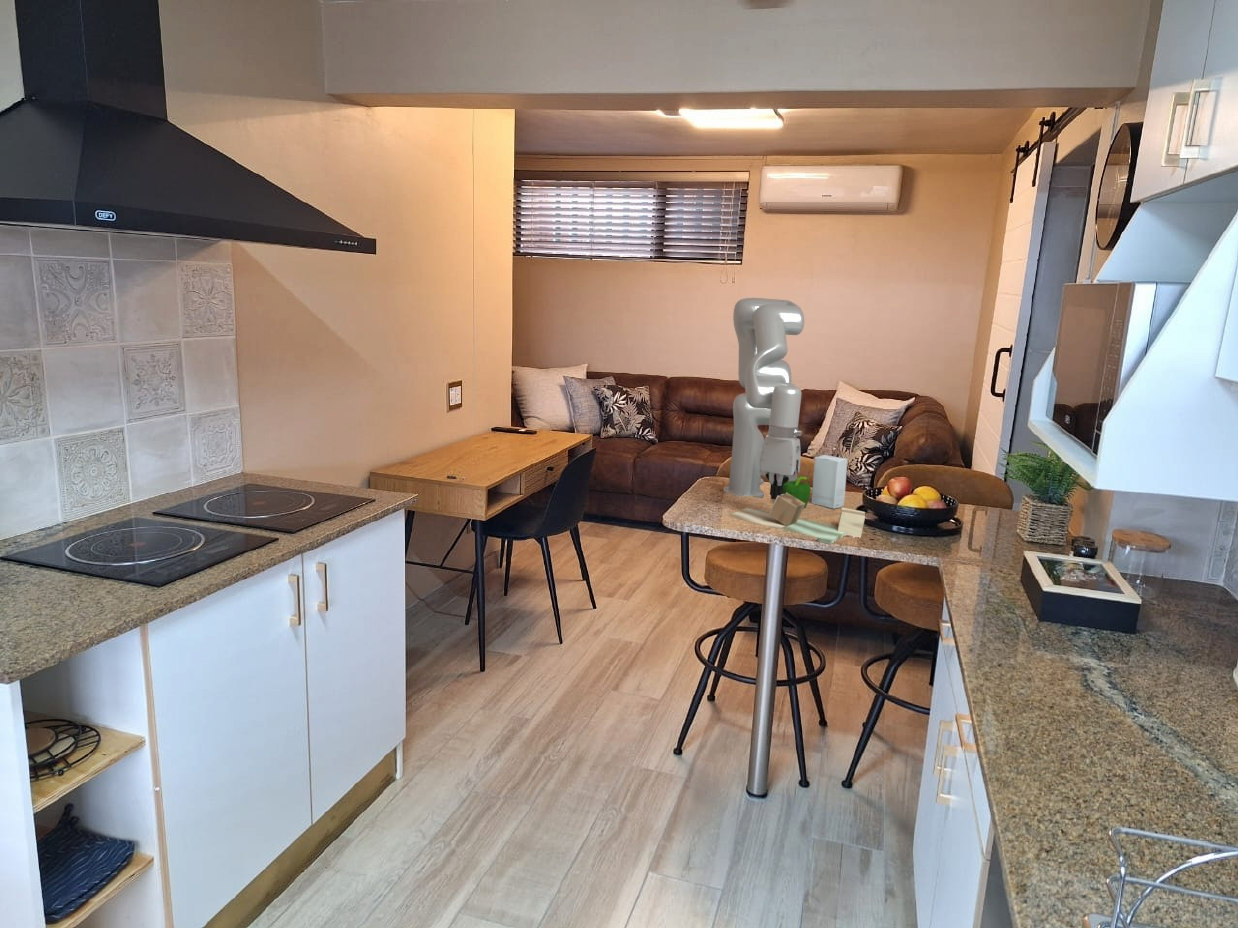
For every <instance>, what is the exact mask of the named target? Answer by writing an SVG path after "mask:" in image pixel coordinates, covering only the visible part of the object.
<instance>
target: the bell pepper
mask: <svg viewBox="0 0 1238 928" xmlns="http://www.w3.org/2000/svg"><path fill="white" fill-rule="evenodd" d="M797 478H798V479H797V480H795V481H788V482H787V483H785V484H784V485H783V494H784V493H789V494H790V495H792V496H794V497H795V498H797V499H799V500H800V501H802V502H804V503H805V506H804V508H803V510H804V509H806V508H807V505H808V503H809V500H810V497H811V493H812V491H811V490H812V489H811V486H810V485H809V483H808V482H806V481H807V479H808V477H806V476H800V477H797ZM801 481H805V482H801Z"/></svg>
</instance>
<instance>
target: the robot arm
mask: <svg viewBox="0 0 1238 928" xmlns="http://www.w3.org/2000/svg"><path fill="white" fill-rule="evenodd" d="M732 317H733V319H732V320H733V321H732V322H733V326H734V331H735V335H736V337H737V343H738V372H737V373H738V382H739V385H740V386H741V388H744V390H745V391H744V392H743V393H739V395H736V397H735V398H734V400H733V403H732V404H733V406H732V411H733V412H732V413H733V437H732V446H731V447H732V448H731V459H730V469H729V479H728V480H729V481H728V486H724V487H723V490H722V491H723V494H731V495H734V496H741V497H753V498H759V499H761V498H763V497H764V496H765V492H764V491H763V490H762V489H761V485H763V484H765V483H764V479H763V478H762V476H763V477H766V479H767V480H768V483H769V484H770V488H769V489H770V490H769V496H770V500H774V501H775V500H776V498H777V496H779V495H781V494H783V485H784V484H785V483H787V482H791V481H795V482H796V481H797V479H798V478H799V477H798V474H799V473H800V470H801V457H802V456H801V455H802V454H801V452H802V451H801V441H800V438H797V437H801V436H802V435H803V431H802V430H800V429H799V421H800V420H799V419H800V410H801V402H802V391H801V388H800V387H798V386H796V384H794V383H792V371H791V366H790V365H789V363H788V362H787V361H786V360H784V358H785V357H786V356H787V354H788V351H789V350H788V348H789V347H788V342H787V336H798V335H800V334H801V333H802V331H803V330H804V327H805V315H804V312H803V310H802V308H801V306H799V305H798V304H796V303H794V302H792V301H791V300H786V299H778V298H776V299H775V298H761V297H746V298H742V299H740V300H738V301H737V302H736V303H735V305H734V308H733V316H732ZM786 335H787V336H786ZM759 426H768V431H767V432H768V433H767V434H766V435H765V437H764V436H763V433H762V432H761V430H760V429H759ZM778 475H779V476H778Z"/></svg>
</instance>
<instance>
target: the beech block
mask: <svg viewBox="0 0 1238 928" xmlns="http://www.w3.org/2000/svg"><path fill="white" fill-rule="evenodd" d="M865 519H866V512H865V511H861V510H857V509H852V508H846V507H841V510H840V514H839V519H838V524H837V525H838V526H837V527H838V531H839V532H845V536H844V537H849V536H853V537H852V538H855V537H859V538H858V539H861V538H862V533H863V529H864V525H865Z"/></svg>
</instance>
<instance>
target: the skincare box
mask: <svg viewBox="0 0 1238 928" xmlns="http://www.w3.org/2000/svg"><path fill="white" fill-rule="evenodd" d="M847 467H848V458H845V457H838V456H832V455H827V454H823V455H819V456H815V457H814V466H813V479H812V491H811V504H812V503H813V505H817V506H821V507H825V508H829V509H839V508H844V506H845V498H846V486H847V485H846V484H847V471H848V468H847Z"/></svg>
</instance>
